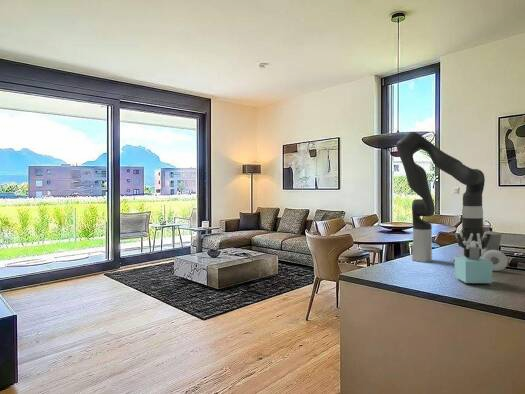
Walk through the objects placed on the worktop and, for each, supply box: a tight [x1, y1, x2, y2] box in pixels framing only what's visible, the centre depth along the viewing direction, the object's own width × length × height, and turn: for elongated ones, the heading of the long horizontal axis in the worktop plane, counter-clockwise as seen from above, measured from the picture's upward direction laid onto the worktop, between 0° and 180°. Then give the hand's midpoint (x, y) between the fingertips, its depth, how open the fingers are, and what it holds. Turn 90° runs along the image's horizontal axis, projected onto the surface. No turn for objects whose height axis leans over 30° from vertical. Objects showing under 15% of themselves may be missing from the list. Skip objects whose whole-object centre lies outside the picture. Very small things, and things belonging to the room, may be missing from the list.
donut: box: [482, 250, 508, 272], centre depth 164 cm, size 10×4×10 cm, turn 50°
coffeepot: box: [480, 227, 503, 264], centre depth 181 cm, size 15×9×18 cm, turn 110°
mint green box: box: [454, 245, 493, 284], centre depth 146 cm, size 10×10×14 cm
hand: (472, 257), depth 146 cm, fingers closed on mint green box, 3 cm apart
